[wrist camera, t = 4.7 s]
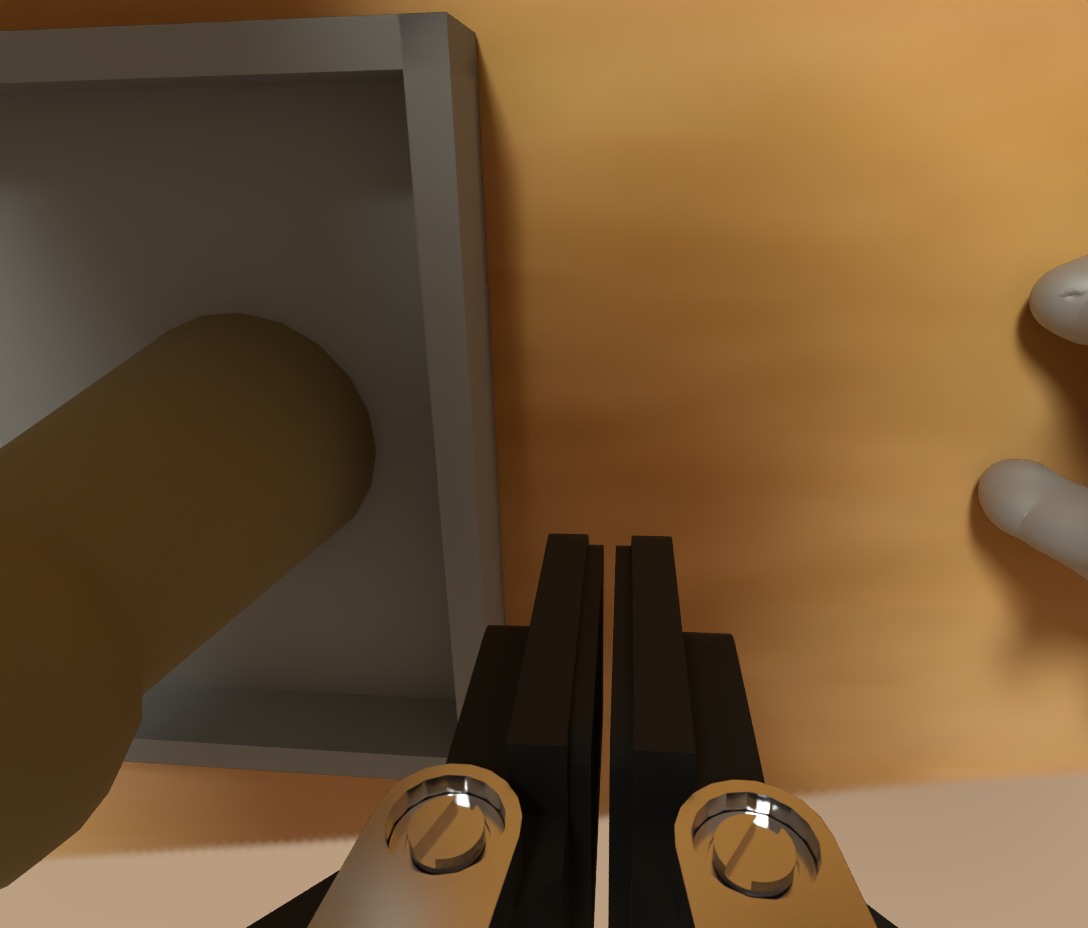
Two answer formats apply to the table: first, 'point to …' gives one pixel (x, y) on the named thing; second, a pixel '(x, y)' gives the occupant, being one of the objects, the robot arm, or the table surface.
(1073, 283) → the gray elephant figurine
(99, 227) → the tray
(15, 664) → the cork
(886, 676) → the table surface
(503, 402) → the table surface
